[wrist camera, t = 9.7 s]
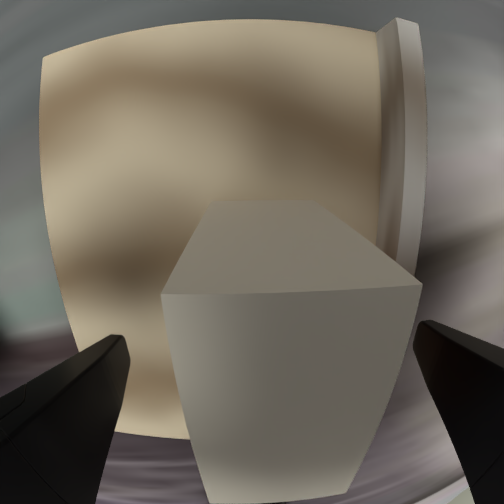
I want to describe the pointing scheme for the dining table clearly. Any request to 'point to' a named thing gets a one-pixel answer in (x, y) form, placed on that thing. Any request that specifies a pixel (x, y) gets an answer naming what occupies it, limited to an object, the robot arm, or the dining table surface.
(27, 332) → the dining table surface
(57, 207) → the shelf board
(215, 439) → the carton
